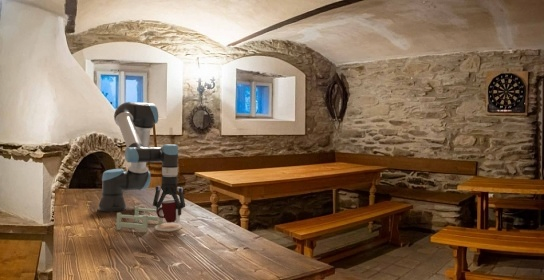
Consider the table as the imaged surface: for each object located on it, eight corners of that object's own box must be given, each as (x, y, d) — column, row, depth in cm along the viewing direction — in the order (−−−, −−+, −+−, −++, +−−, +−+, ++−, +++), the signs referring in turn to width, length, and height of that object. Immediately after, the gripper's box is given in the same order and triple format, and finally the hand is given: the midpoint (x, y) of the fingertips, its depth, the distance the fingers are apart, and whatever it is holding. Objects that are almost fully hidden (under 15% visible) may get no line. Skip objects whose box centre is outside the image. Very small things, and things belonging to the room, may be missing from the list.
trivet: (149, 230, 197) (150, 228, 197) (162, 223, 210) (162, 221, 210) (175, 232, 195) (175, 230, 195) (186, 225, 208) (186, 224, 208)
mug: (160, 225, 196) (159, 204, 196) (155, 222, 203) (154, 202, 202) (181, 221, 201) (180, 201, 201) (176, 219, 208) (175, 199, 208)
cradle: (116, 229, 196) (116, 213, 195) (135, 221, 213) (136, 206, 213) (145, 232, 193) (145, 215, 193) (162, 223, 211) (163, 208, 210)
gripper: (145, 175, 200) (144, 221, 201) (187, 177, 196) (186, 224, 197) (153, 173, 207) (152, 217, 208) (193, 176, 203) (192, 221, 204)
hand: (168, 221), depth 202 cm, fingers closed on mug, 9 cm apart
